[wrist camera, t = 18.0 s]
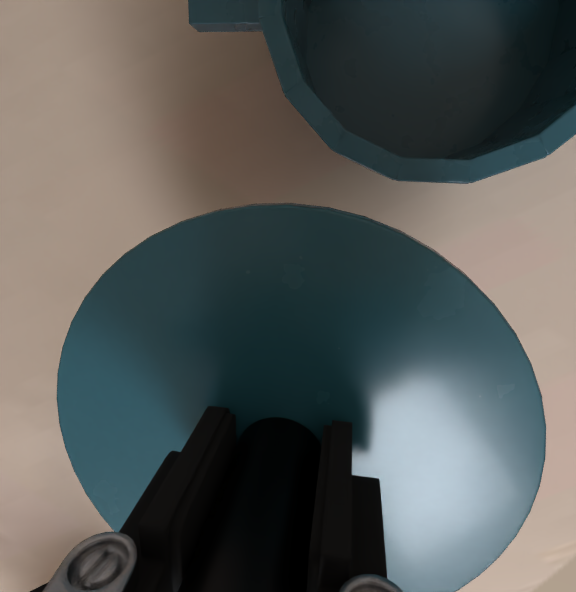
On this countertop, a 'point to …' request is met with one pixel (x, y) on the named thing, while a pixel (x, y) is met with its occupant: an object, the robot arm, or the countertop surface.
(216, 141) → the countertop surface
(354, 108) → the pot
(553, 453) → the countertop surface
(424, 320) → the lid
